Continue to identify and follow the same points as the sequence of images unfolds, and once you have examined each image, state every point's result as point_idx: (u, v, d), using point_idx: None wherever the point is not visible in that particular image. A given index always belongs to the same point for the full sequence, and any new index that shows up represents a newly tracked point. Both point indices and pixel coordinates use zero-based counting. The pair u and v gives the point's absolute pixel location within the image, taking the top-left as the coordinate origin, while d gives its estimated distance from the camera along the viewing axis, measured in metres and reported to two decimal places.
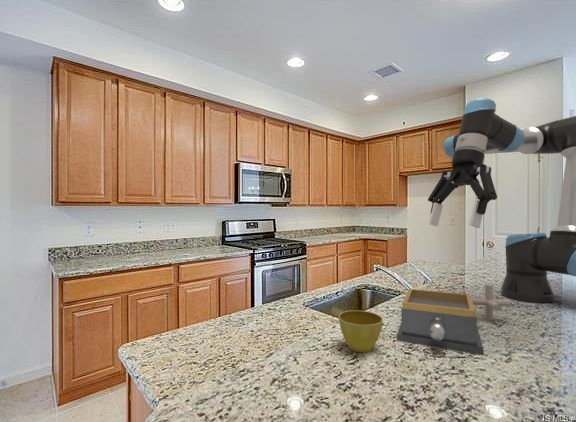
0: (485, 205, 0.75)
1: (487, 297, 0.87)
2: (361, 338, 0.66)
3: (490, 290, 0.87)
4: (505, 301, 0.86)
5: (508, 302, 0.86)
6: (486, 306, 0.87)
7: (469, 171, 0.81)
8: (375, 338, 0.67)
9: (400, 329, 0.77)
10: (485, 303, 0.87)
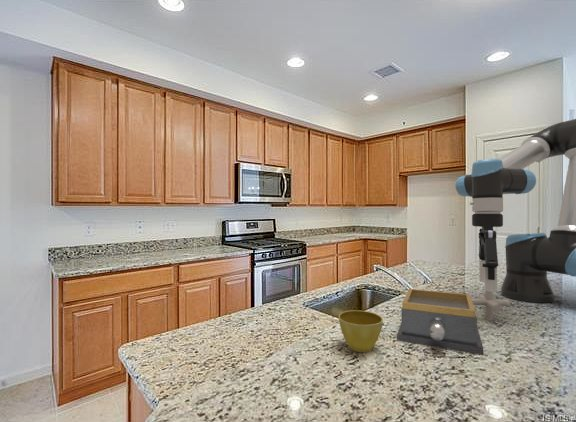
0: (492, 271, 0.80)
1: (487, 297, 0.87)
2: (361, 338, 0.66)
3: None
4: (505, 301, 0.86)
5: (508, 302, 0.86)
6: (486, 306, 0.87)
7: (483, 234, 0.86)
8: (375, 338, 0.67)
9: (400, 329, 0.77)
10: (485, 303, 0.87)
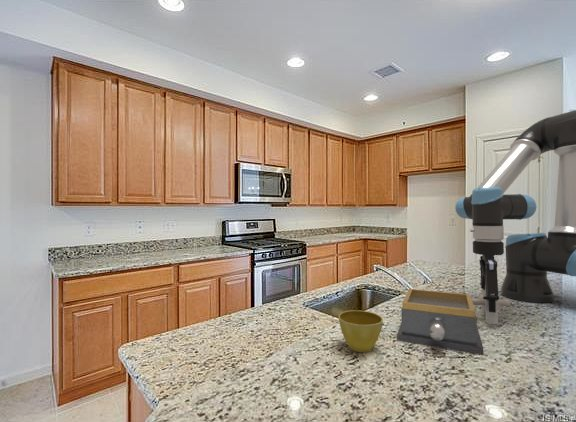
0: (493, 304, 0.81)
1: None
2: (361, 338, 0.66)
3: None
4: (505, 301, 0.86)
5: (508, 302, 0.86)
6: None
7: (484, 262, 0.86)
8: (375, 338, 0.67)
9: (400, 329, 0.77)
10: (485, 303, 0.87)
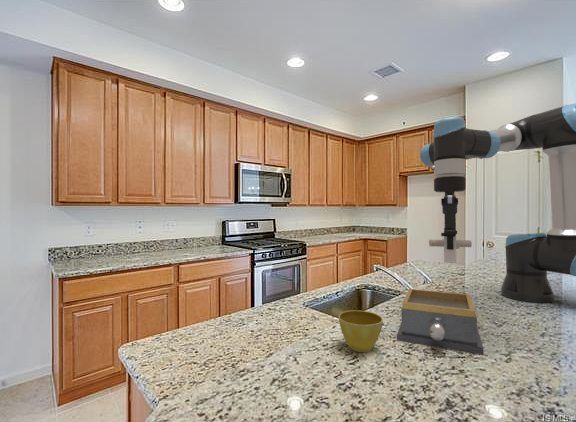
0: (451, 240, 0.75)
1: None
2: (361, 338, 0.66)
3: None
4: (466, 241, 0.79)
5: (470, 243, 0.79)
6: None
7: (444, 199, 0.79)
8: (375, 338, 0.67)
9: (400, 329, 0.77)
10: None
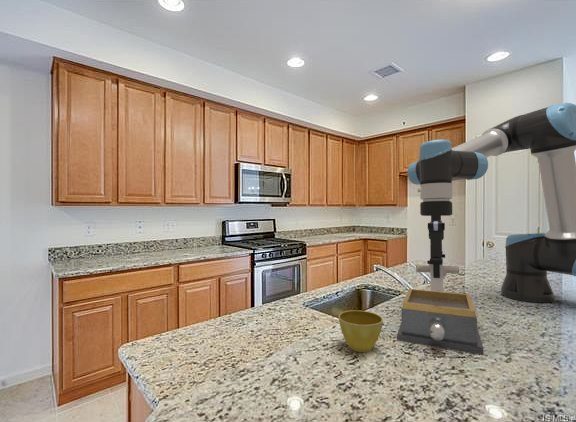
0: (437, 269, 0.72)
1: None
2: (361, 338, 0.66)
3: None
4: (454, 267, 0.77)
5: (457, 269, 0.77)
6: None
7: None
8: (375, 338, 0.67)
9: (400, 329, 0.77)
10: None
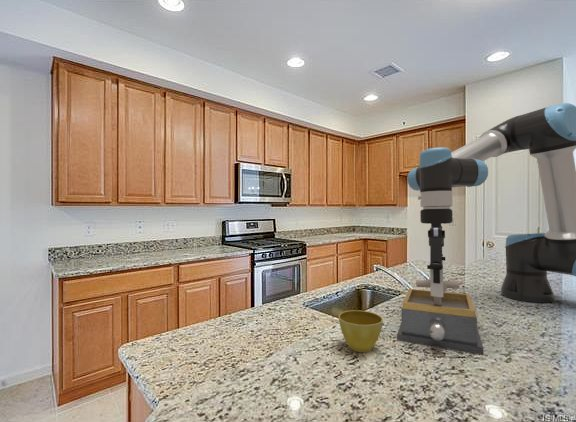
0: (437, 274, 0.71)
1: None
2: (361, 338, 0.66)
3: None
4: (454, 282, 0.77)
5: (457, 284, 0.77)
6: None
7: None
8: (375, 338, 0.67)
9: (400, 329, 0.77)
10: None
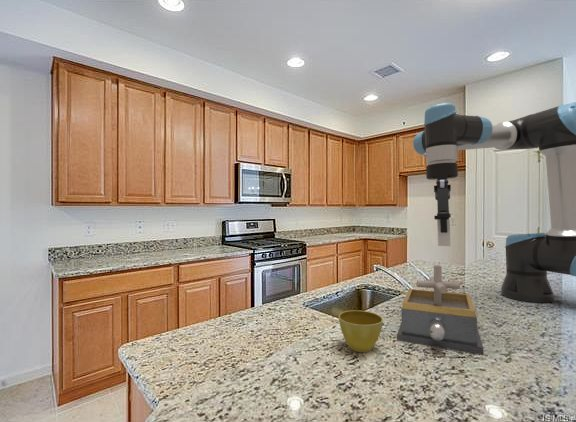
0: (444, 223, 0.73)
1: (435, 279, 0.78)
2: (361, 338, 0.66)
3: (438, 271, 0.78)
4: (455, 283, 0.77)
5: (458, 285, 0.77)
6: (434, 289, 0.78)
7: (437, 186, 0.79)
8: (375, 338, 0.67)
9: (400, 329, 0.77)
10: (433, 285, 0.78)
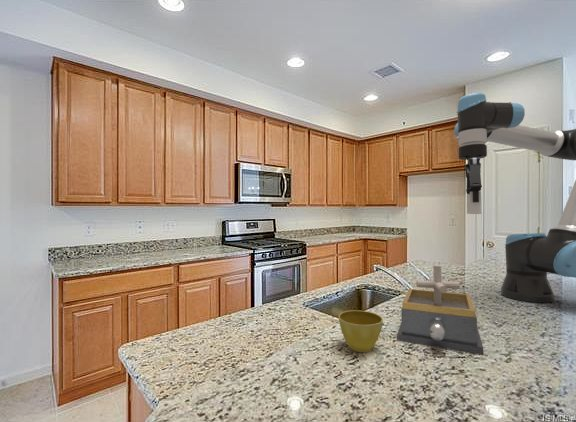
0: (476, 194, 0.86)
1: (435, 279, 0.78)
2: (361, 338, 0.66)
3: (438, 271, 0.78)
4: (454, 283, 0.77)
5: (458, 284, 0.77)
6: (434, 289, 0.79)
7: (469, 164, 0.92)
8: (375, 338, 0.67)
9: (400, 329, 0.77)
10: (433, 285, 0.78)
